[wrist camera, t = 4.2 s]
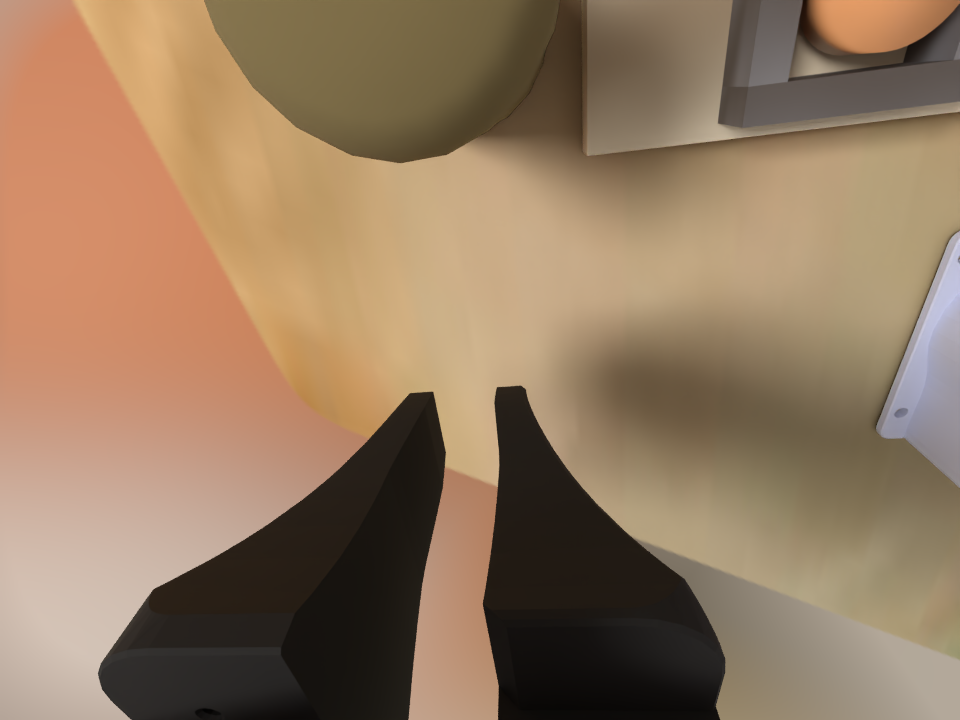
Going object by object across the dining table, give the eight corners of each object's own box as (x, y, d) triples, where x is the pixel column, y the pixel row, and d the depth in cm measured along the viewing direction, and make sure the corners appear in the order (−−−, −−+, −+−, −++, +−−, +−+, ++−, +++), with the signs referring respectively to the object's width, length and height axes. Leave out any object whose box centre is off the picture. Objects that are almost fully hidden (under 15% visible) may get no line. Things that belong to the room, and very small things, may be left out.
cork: (326, 58, 15) (28, 18, 6) (421, -161, 13) (155, -888, 3) (476, 172, 17) (433, 286, 7) (590, -1, 14) (750, -168, 5)
